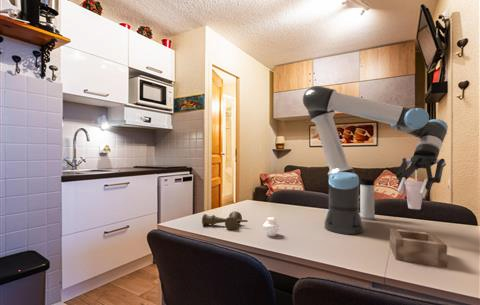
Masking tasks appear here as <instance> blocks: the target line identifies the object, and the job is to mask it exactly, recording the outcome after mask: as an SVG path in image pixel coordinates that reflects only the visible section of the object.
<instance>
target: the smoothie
mask: <svg viewBox="0 0 480 305" xmlns="http://www.w3.org/2000/svg"><path fill="white" fill-rule="evenodd" d="M414 176H415V178H414V180H406V181H404V184H405V192H406V194H405V195H406V200H407V208H408V209H411V210H421V209H422V202H423V198H422V197H421V195H420V190H421V188H422V185H423V182H424V181H420V180H419V181H418V169H417V170H415V171H414Z"/></svg>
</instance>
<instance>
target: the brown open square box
mask: <svg viewBox="0 0 480 305" xmlns="http://www.w3.org/2000/svg"><path fill="white" fill-rule="evenodd" d="M389 247H390V249H391V252H392V254H393V257H394V259H395V261H403V262H410V263H416V264H423V265H429V266H436V267H442V268H448V245H447V244H446V243H445V242H444V241H443V240H442V239H441V238H440V237H439V236H437V234H435V233H434V232H427V231H426V232H425V231H415V230H408V229H407V230H406V229H398V228H397V229H396V228H389Z"/></svg>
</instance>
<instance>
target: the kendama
mask: <svg viewBox="0 0 480 305" xmlns="http://www.w3.org/2000/svg"><path fill="white" fill-rule="evenodd" d="M242 217H243V216H242V214H241V212H239V211H231V212H230V213H229V215H228V217H226V218H224V217H218V216H216V215H215V214H212V215H209V214H206V213H204V214H203V215H202V217H201V224H202V226H204V227H205V226H207V225H211V226H214V225H216V224H221V223H224V225H225V226H224V227H225V229H227V230H229V231H234V230H236V229H237V228H238V226H239V225H240V224H241V223H247V222H249V220H247V219H243V218H242Z"/></svg>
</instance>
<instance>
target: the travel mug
mask: <svg viewBox="0 0 480 305" xmlns="http://www.w3.org/2000/svg"><path fill="white" fill-rule="evenodd" d="M359 192H360V193H359V208H360V210H359V214H360V217H361V220H365V221H366V220H367V221H374V220H375V215H376V214H375V202H376V201H375V200H376V199H375V194H376V193H375V180H374V179H369V178H363V177H360V178H359Z"/></svg>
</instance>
